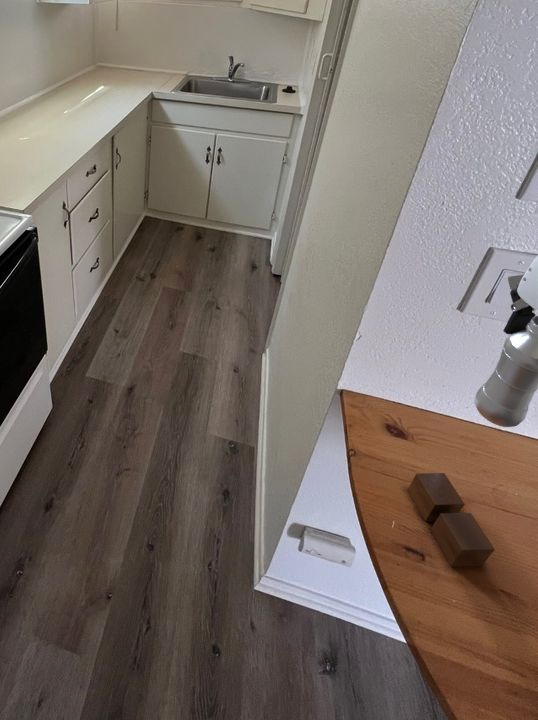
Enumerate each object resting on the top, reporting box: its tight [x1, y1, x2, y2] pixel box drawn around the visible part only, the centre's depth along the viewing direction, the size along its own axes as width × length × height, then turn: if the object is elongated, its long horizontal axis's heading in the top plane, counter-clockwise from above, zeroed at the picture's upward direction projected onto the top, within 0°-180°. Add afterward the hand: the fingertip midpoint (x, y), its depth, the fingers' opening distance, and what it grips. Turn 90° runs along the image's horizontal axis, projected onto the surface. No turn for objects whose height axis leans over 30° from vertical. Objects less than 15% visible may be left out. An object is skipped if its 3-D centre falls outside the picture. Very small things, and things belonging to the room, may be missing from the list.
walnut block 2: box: [429, 512, 496, 567], centre depth 64 cm, size 5×5×5 cm
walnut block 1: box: [406, 472, 466, 522], centre depth 70 cm, size 5×5×5 cm
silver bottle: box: [474, 315, 538, 428], centre depth 67 cm, size 6×7×20 cm
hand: (533, 349), depth 64 cm, fingers closed on silver bottle, 6 cm apart
